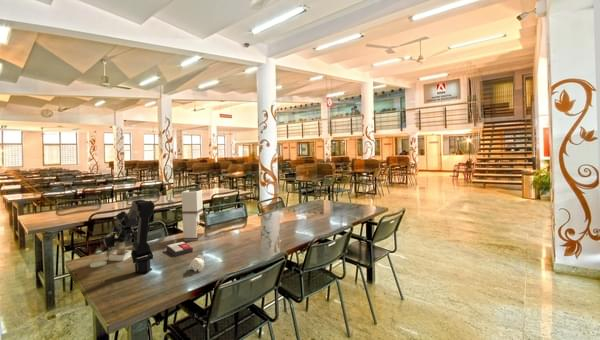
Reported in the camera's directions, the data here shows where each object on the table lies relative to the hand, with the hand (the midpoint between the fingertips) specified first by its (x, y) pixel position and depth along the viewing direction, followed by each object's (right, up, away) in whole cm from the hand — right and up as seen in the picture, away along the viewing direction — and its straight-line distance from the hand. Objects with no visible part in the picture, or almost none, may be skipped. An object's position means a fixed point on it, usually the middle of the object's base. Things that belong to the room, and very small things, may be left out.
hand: (119, 246), depth 180 cm
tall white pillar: (+31, -4, +38) cm, 49 cm away
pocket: (+1, -7, -1) cm, 7 cm away
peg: (+1, -7, -1) cm, 7 cm away
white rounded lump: (+54, -7, -21) cm, 58 cm away
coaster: (-5, -7, -11) cm, 14 cm away
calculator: (+32, -6, +9) cm, 34 cm away
